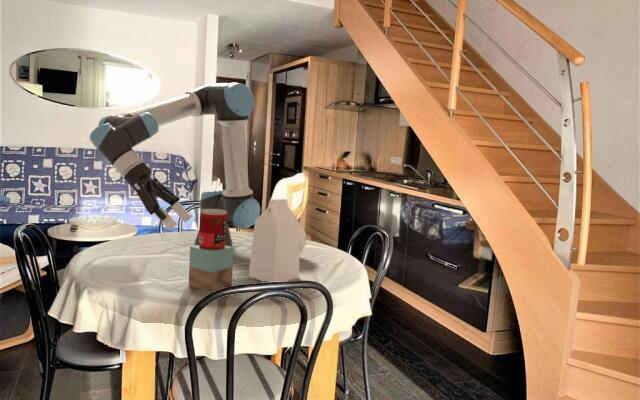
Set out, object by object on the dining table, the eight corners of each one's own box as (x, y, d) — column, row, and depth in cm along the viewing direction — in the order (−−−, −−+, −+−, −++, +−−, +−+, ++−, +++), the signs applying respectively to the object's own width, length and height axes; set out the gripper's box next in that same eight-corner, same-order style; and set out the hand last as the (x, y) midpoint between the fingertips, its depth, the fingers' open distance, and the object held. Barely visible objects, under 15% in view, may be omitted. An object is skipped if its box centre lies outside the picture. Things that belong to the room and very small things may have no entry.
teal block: (210, 261, 151) (211, 242, 151) (232, 266, 147) (233, 247, 146) (189, 266, 144) (190, 246, 143) (211, 272, 139) (212, 252, 138)
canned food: (218, 251, 140) (220, 213, 139) (193, 247, 142) (195, 211, 140) (229, 246, 147) (231, 210, 146) (205, 243, 149) (207, 207, 148)
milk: (274, 270, 168) (278, 196, 164) (299, 278, 160) (304, 200, 157) (248, 276, 158) (252, 197, 155) (273, 284, 151) (278, 202, 148)
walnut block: (210, 279, 152) (211, 261, 151) (231, 285, 147) (232, 266, 147) (188, 285, 144) (189, 266, 144) (210, 292, 140) (211, 272, 139)
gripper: (141, 175, 156) (185, 224, 157) (103, 181, 131) (156, 239, 132) (158, 159, 155) (202, 209, 156) (123, 163, 130) (176, 222, 131)
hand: (181, 223), depth 144 cm, fingers open, 13 cm apart
